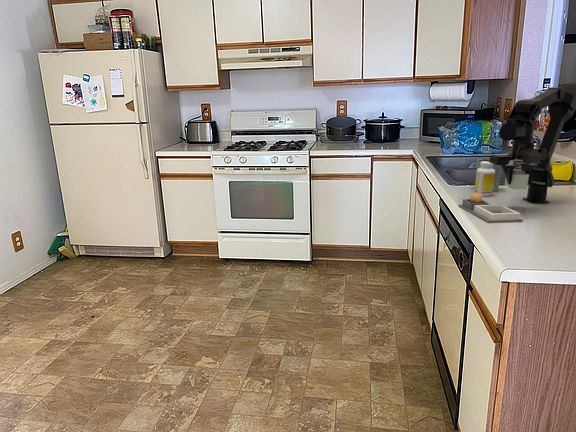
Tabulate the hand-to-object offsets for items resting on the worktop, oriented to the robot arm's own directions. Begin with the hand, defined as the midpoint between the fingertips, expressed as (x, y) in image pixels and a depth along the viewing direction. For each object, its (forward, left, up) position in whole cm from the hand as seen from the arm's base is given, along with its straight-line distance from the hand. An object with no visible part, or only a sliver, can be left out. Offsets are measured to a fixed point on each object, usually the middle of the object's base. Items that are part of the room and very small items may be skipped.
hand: (515, 184), depth 154 cm
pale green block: (0, 0, -1) cm, 1 cm away
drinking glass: (-28, +6, -9) cm, 30 cm away
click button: (0, -14, -6) cm, 15 cm away
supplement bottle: (-20, 0, -9) cm, 22 cm away
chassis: (+6, -12, -9) cm, 16 cm away
